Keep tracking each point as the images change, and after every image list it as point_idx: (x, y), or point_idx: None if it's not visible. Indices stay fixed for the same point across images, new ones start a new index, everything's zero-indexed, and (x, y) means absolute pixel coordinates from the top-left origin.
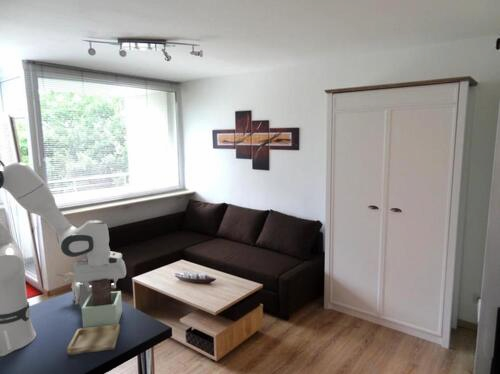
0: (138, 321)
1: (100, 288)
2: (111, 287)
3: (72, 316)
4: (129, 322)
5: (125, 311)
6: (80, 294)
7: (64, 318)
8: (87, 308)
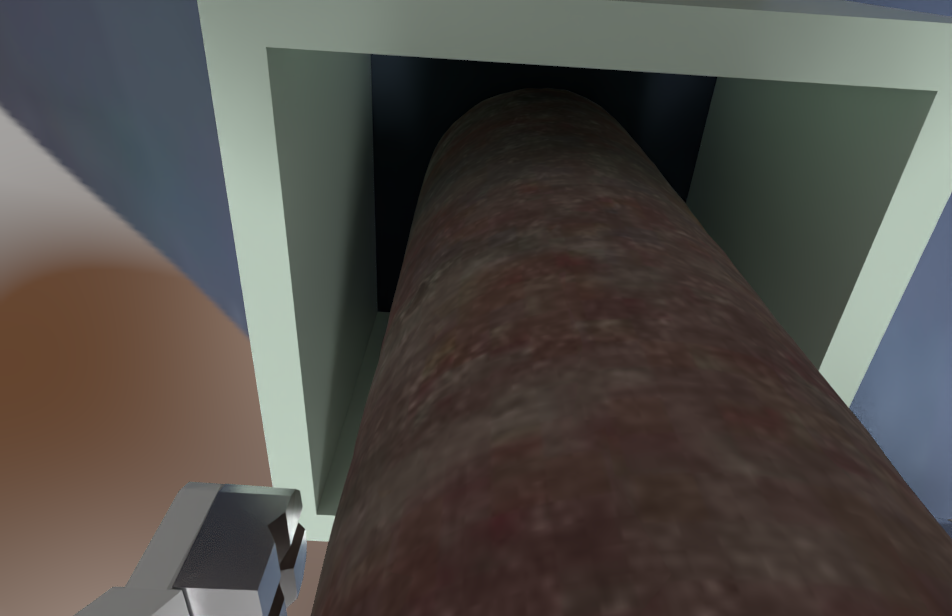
0: (82, 52)
1: (635, 419)
2: (282, 513)
3: None
4: (199, 59)
5: None
6: None
7: (945, 353)
8: (879, 18)
